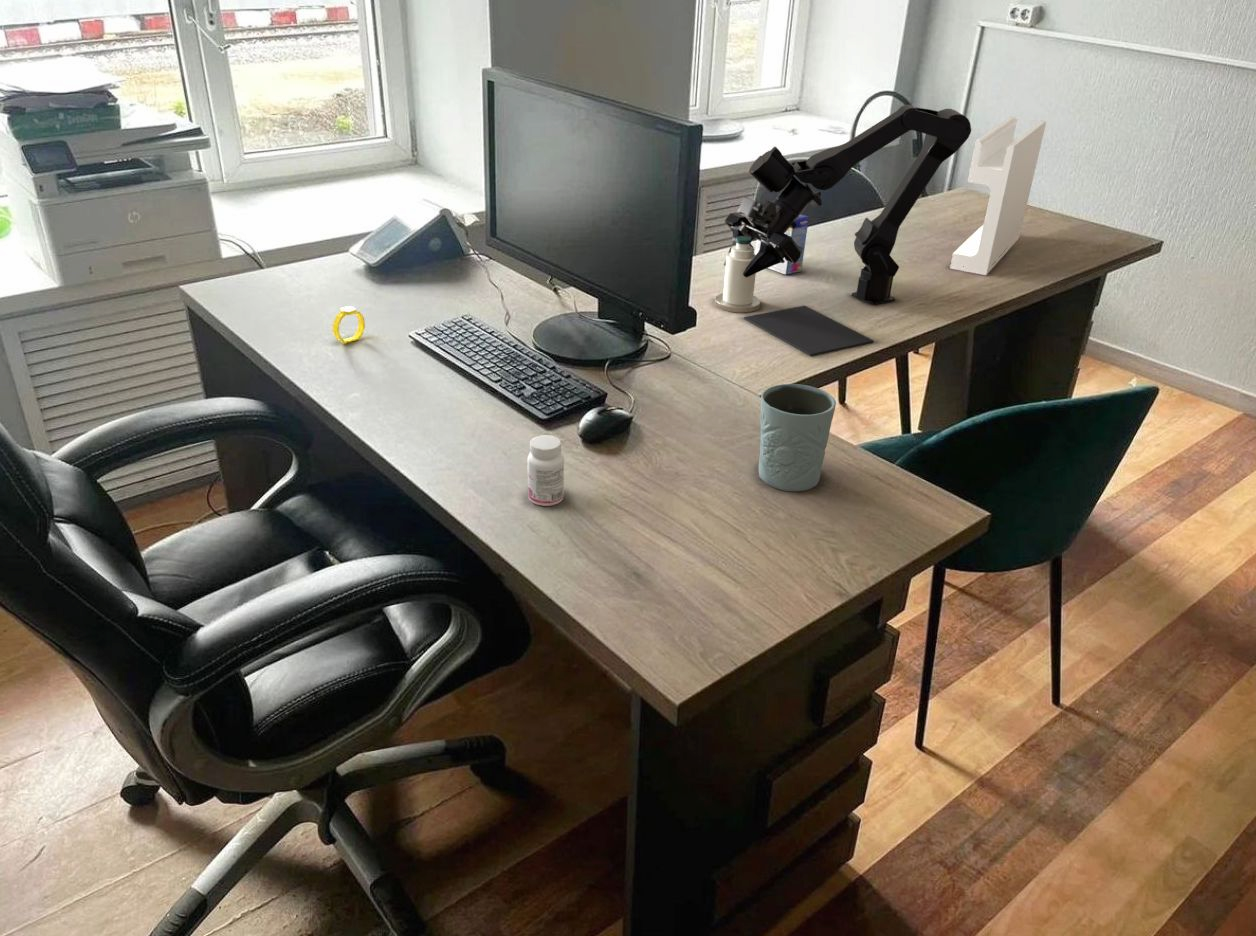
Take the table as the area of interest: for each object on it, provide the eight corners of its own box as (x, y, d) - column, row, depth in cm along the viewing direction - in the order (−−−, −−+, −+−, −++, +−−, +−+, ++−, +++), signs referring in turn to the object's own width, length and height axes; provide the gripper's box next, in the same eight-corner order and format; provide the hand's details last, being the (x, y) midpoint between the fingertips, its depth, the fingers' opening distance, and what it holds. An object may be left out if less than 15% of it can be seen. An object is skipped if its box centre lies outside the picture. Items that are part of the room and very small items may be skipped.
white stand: (986, 275, 223) (1014, 145, 209) (949, 268, 226) (975, 140, 212) (1019, 238, 249) (1046, 121, 236) (986, 232, 253) (1011, 116, 239)
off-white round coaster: (742, 294, 206) (742, 289, 206) (768, 308, 199) (769, 303, 199) (705, 300, 202) (706, 295, 201) (732, 315, 195) (732, 310, 195)
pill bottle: (527, 488, 136) (527, 433, 131) (563, 488, 136) (563, 433, 132) (527, 507, 131) (527, 450, 127) (564, 506, 132) (564, 450, 128)
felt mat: (804, 307, 201) (804, 305, 201) (873, 342, 186) (873, 340, 186) (743, 318, 194) (744, 316, 194) (810, 356, 179) (810, 354, 179)
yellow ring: (341, 347, 174) (338, 315, 171) (331, 343, 176) (327, 311, 173) (369, 338, 178) (365, 306, 176) (358, 334, 180) (355, 302, 177)
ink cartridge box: (803, 271, 220) (812, 205, 213) (786, 276, 217) (794, 209, 210) (769, 259, 227) (776, 195, 219) (753, 264, 223) (759, 198, 216)
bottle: (741, 292, 204) (747, 232, 198) (758, 302, 199) (765, 240, 193) (716, 297, 201) (722, 235, 195) (734, 306, 197) (740, 244, 190)
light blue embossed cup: (775, 499, 136) (785, 419, 130) (739, 464, 144) (747, 388, 138) (838, 486, 139) (851, 408, 133) (799, 453, 147) (810, 378, 141)
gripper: (736, 171, 198) (686, 232, 198) (796, 194, 184) (742, 260, 184) (764, 207, 205) (715, 266, 205) (824, 231, 191) (771, 295, 192)
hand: (734, 271), depth 196 cm, fingers closed on bottle, 6 cm apart
